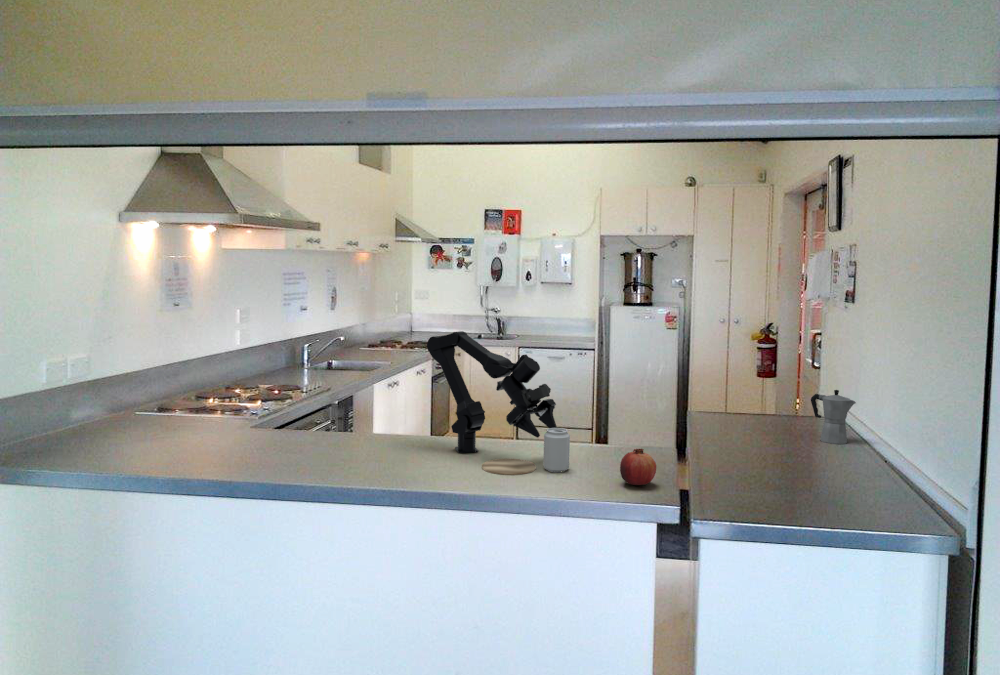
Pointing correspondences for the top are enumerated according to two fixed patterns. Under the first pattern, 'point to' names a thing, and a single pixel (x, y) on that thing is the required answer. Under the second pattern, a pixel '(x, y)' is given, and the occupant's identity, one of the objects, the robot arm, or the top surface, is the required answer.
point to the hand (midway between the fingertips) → (547, 434)
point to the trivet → (509, 466)
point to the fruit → (637, 467)
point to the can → (556, 449)
